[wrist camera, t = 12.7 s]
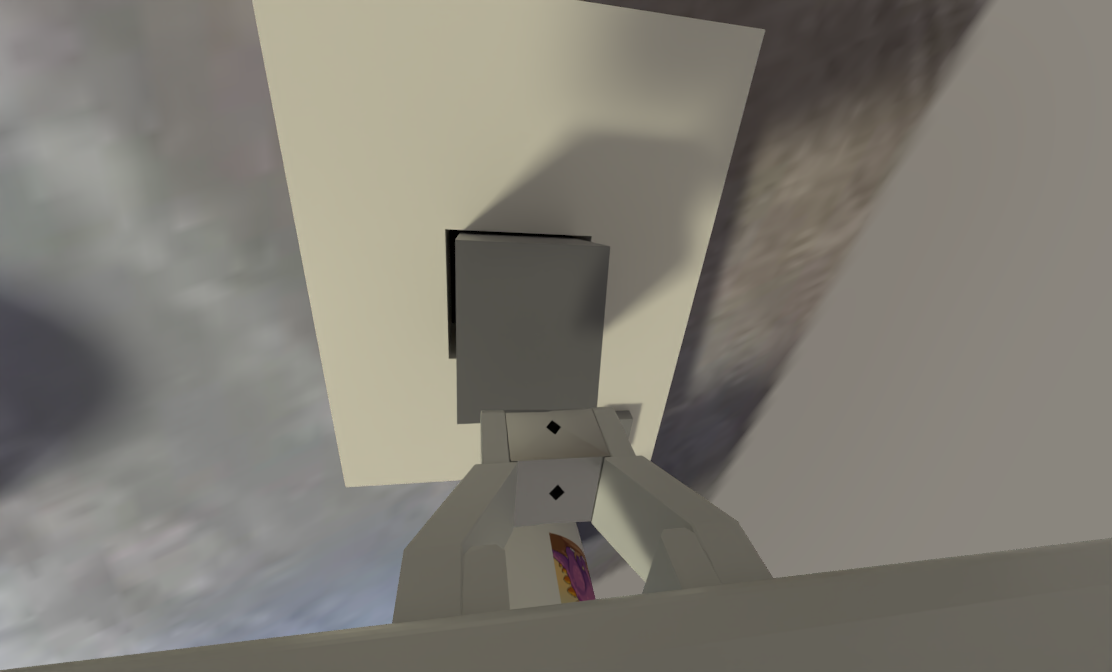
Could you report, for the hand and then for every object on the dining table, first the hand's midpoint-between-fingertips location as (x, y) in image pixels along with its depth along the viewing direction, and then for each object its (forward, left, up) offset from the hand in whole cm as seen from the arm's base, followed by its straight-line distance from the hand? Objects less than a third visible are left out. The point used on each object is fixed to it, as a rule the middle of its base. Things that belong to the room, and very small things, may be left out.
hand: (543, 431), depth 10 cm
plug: (+1, 0, -10) cm, 10 cm away
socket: (0, 0, -10) cm, 10 cm away
